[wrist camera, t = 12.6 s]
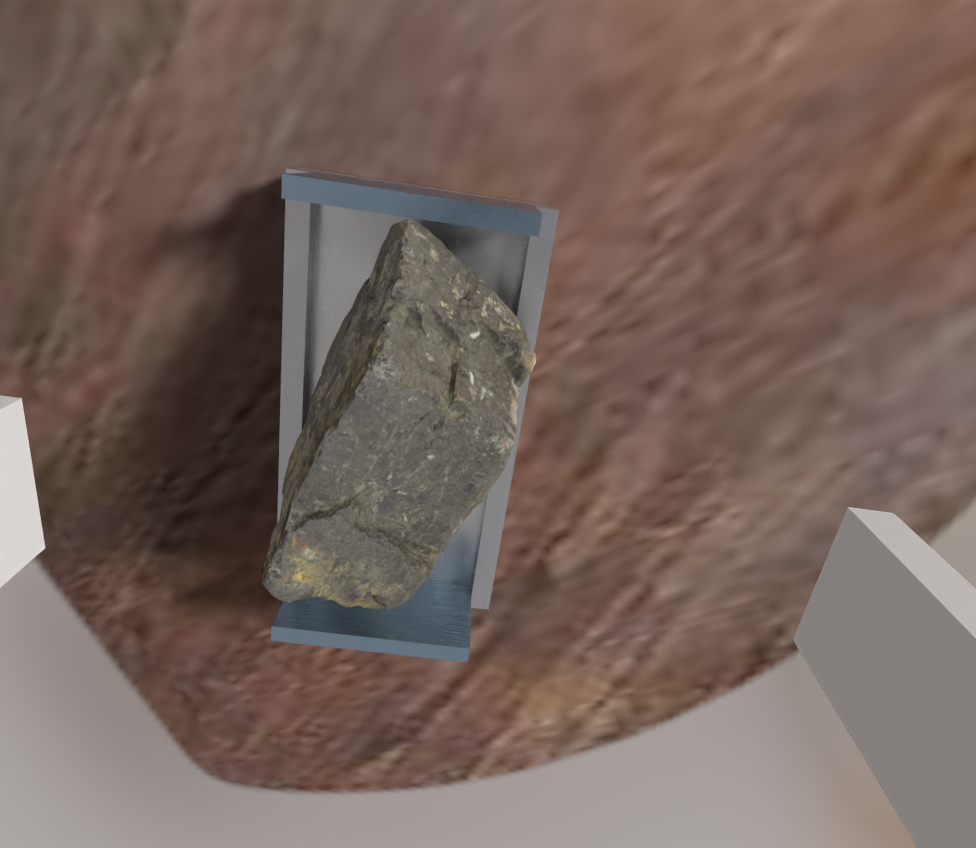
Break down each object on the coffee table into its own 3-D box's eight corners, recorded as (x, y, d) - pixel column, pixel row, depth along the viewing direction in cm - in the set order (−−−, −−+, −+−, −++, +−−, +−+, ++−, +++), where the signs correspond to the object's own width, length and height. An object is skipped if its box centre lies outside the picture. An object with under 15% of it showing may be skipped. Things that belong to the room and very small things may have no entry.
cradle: (306, 167, 28) (252, 169, 22) (552, 205, 29) (570, 217, 22) (292, 551, 36) (248, 638, 29) (488, 575, 36) (488, 664, 30)
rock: (487, 629, 30) (260, 647, 27) (459, 521, 35) (266, 526, 32) (602, 301, 20) (260, 270, 17) (539, 216, 25) (268, 182, 22)
